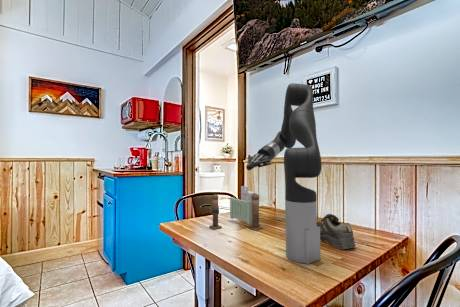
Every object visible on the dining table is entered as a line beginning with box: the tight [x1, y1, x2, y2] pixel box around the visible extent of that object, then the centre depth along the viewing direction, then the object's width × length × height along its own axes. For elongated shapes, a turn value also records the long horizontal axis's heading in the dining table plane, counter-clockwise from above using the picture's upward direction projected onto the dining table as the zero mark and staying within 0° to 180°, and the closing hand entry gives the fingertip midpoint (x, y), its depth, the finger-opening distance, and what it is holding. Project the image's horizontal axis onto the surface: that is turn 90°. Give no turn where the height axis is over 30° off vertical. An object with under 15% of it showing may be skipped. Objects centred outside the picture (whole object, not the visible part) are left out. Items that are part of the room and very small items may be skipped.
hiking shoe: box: [317, 213, 356, 250], centre depth 91 cm, size 9×21×12 cm, turn 18°
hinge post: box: [248, 192, 263, 231], centre depth 108 cm, size 4×4×15 cm
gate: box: [229, 196, 252, 226], centre depth 117 cm, size 15×2×10 cm, turn 35°
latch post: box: [208, 193, 222, 231], centre depth 110 cm, size 4×4×15 cm
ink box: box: [240, 185, 257, 201], centre depth 139 cm, size 9×5×15 cm, turn 25°
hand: (247, 168), depth 112 cm, fingers closed
